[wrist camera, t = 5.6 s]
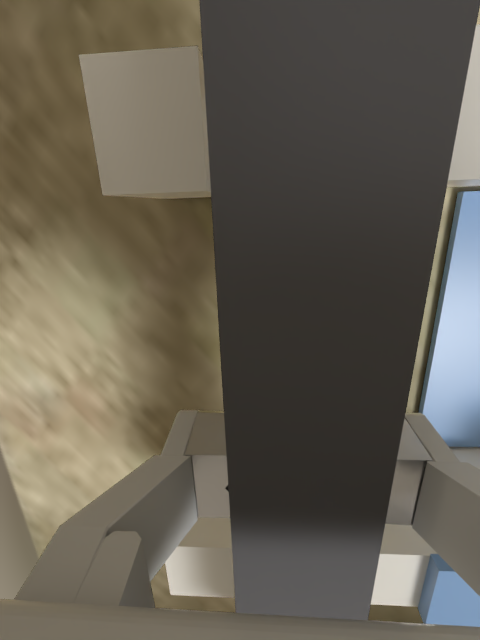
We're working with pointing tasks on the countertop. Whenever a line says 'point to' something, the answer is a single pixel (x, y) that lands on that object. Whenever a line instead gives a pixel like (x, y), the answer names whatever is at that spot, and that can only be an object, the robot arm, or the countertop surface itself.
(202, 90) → the slotted rod rack
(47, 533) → the countertop surface
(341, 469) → the dark grey square rod
